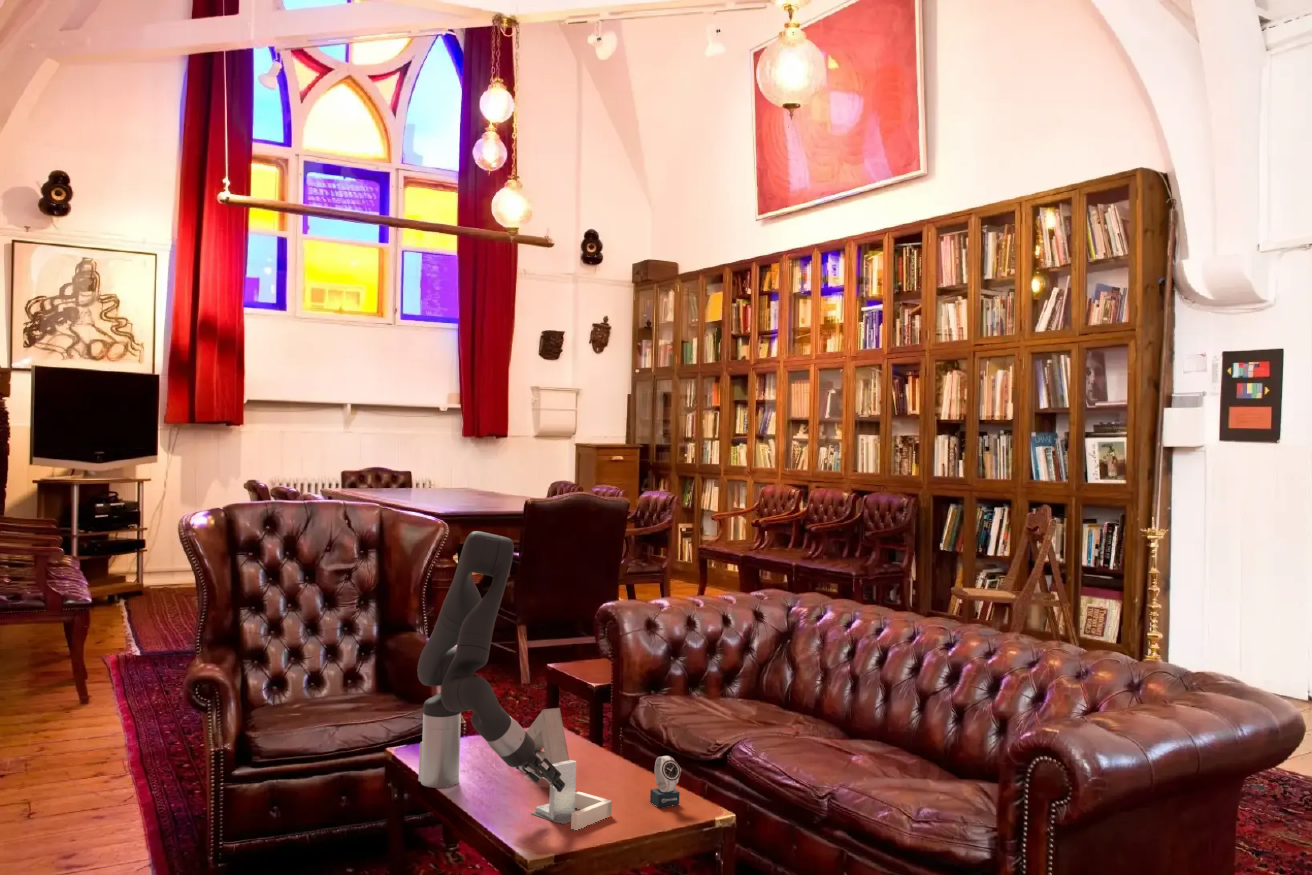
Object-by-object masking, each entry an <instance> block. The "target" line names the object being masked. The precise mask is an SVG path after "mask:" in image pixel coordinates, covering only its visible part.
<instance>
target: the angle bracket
mask: <svg viewBox="0 0 1312 875" xmlns="http://www.w3.org/2000/svg"><path fill="white" fill-rule="evenodd" d="M552 765H553V766H554V767H555V768H556V769H557V770H558V771H559V772H560V773H561V776H560V777H559V778H560V779H561V780H562V781H563V782H564V783H565V787H564V788H563V789H562V791H561V792H558V791H557V790H556V789H555V788H554V787H553V786H552V785H551V784H550V783H549V796H548V797H549V800H548V801H549V803H545V804H542V805H537V806H535V812H536V813H538V814H540V815H543V816H545V817H547V818H549V819H551V820H553V821H552V822H554V820H558V819H561V818H565V817H569V816H572V813H573V812H575V811H576V809H575V793H576V788H577V787H576V786H577V784H576V783H577V761H576V760H573V759H569V760H568V761H564V762H559V763H555V764H552ZM551 820H550V821H551Z"/></svg>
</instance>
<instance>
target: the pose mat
mask: <svg viewBox="0 0 1312 875" xmlns="http://www.w3.org/2000/svg"><path fill="white" fill-rule="evenodd" d="M576 811H577V810H575V812H576ZM531 815H533V816H536V817H538V816H539V818H542V819H545V820H548V821H551V819H549V818H547V817H545V816H543V815H540V814H538V813H536V811H534V812H531ZM551 822H553V823H557V822H558V824H560V823H561V825H563V824H565V825H567V824H569V823H568V822H570V823H571V816H569V817H565V818H561V819H558V820H554V821H553V820H552V821H551Z"/></svg>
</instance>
